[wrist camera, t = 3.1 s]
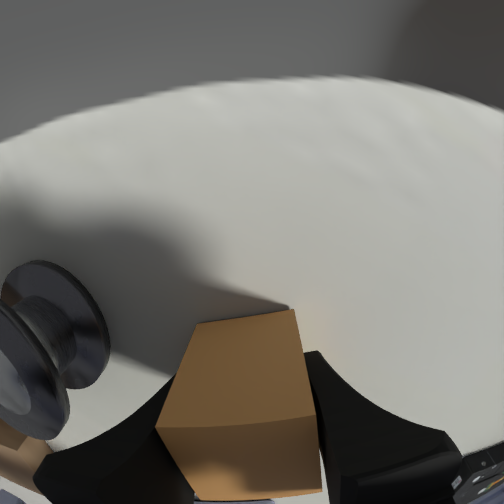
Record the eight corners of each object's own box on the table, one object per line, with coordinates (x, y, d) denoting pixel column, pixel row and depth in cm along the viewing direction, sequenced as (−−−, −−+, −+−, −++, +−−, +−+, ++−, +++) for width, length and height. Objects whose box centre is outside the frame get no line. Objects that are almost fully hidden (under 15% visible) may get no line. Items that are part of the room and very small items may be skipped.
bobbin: (130, 382, 14) (91, 451, 9) (39, 378, 14) (-4, 426, 9) (81, 248, 12) (5, 287, 7) (-5, 271, 12) (-66, 302, 8)
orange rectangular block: (304, 384, 13) (322, 491, 7) (219, 395, 13) (200, 500, 8) (293, 309, 12) (315, 414, 6) (197, 323, 12) (154, 426, 7)
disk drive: (410, 511, 19) (504, 476, 18) (416, 530, 16) (512, 490, 15) (459, 452, 16) (549, 416, 16) (471, 475, 13) (561, 430, 13)
